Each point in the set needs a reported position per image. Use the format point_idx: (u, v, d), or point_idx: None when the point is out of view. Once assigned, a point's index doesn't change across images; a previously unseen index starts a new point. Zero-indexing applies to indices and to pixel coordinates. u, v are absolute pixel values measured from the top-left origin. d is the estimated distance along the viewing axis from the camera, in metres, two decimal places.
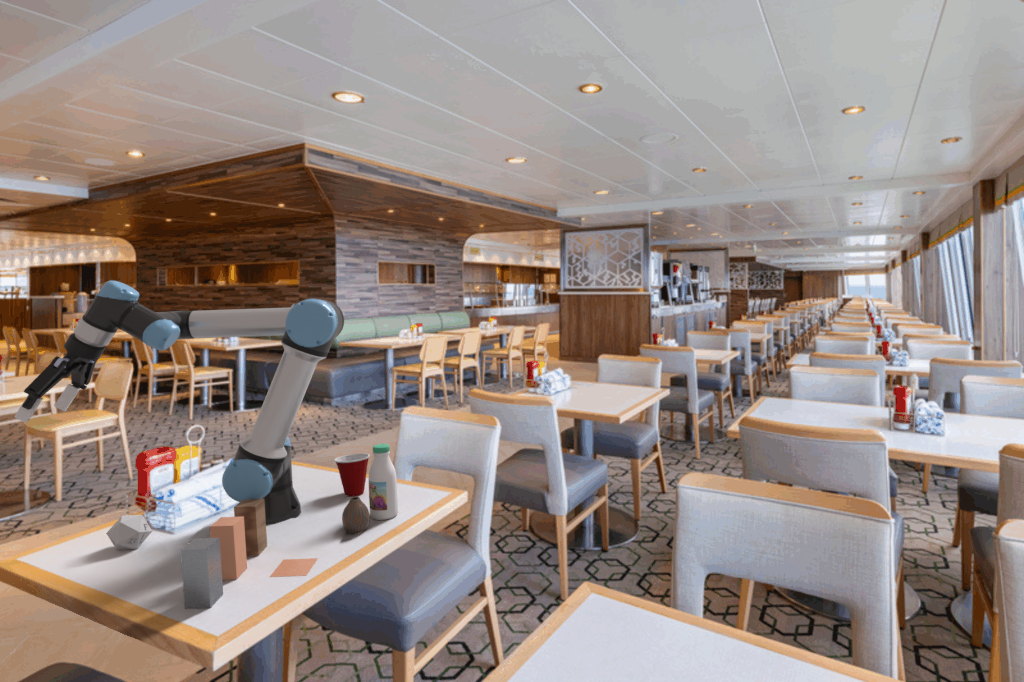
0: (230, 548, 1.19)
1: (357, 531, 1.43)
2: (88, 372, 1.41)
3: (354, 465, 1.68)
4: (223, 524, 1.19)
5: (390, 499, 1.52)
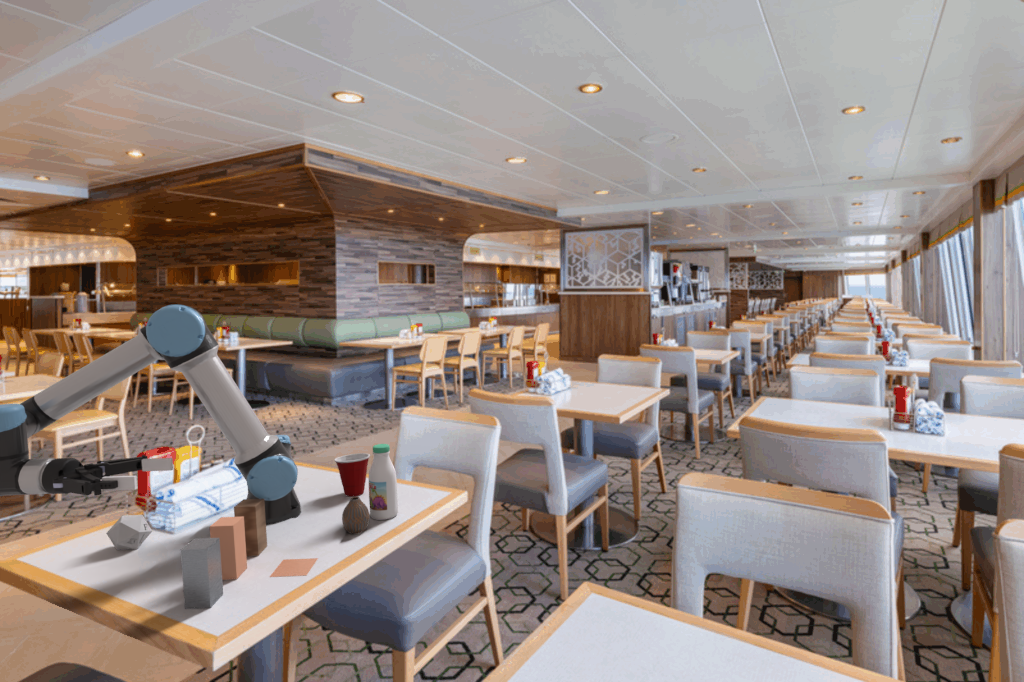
0: (230, 548, 1.19)
1: (357, 531, 1.43)
2: (122, 461, 1.27)
3: (354, 465, 1.68)
4: (223, 524, 1.19)
5: (390, 499, 1.52)
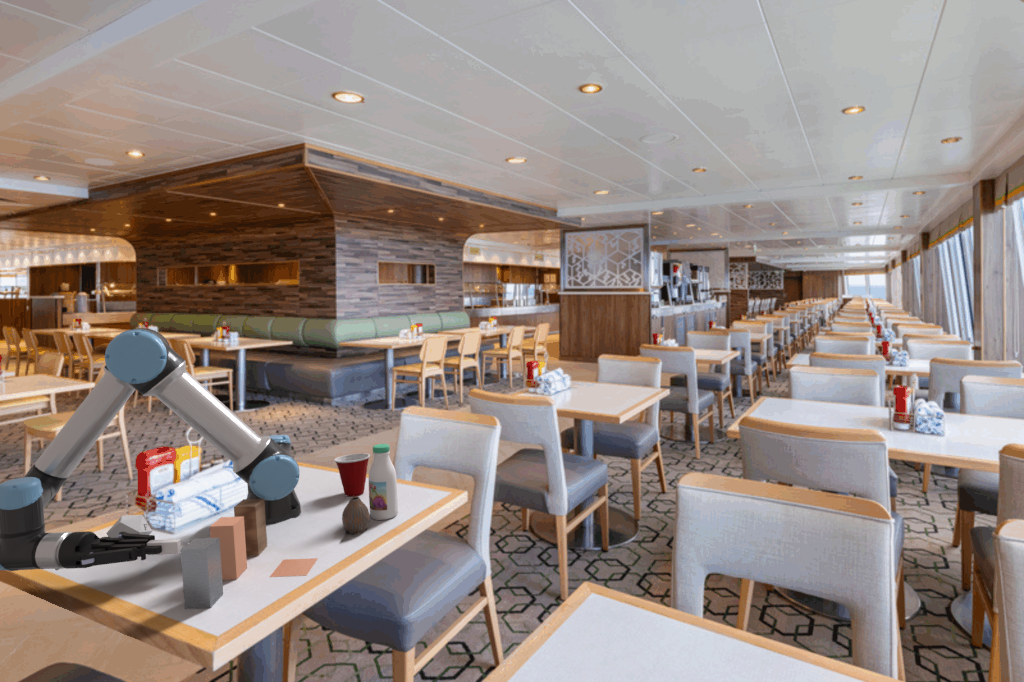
0: (230, 548, 1.19)
1: (357, 531, 1.43)
2: (133, 537, 1.24)
3: (354, 465, 1.68)
4: (223, 524, 1.19)
5: (390, 499, 1.52)
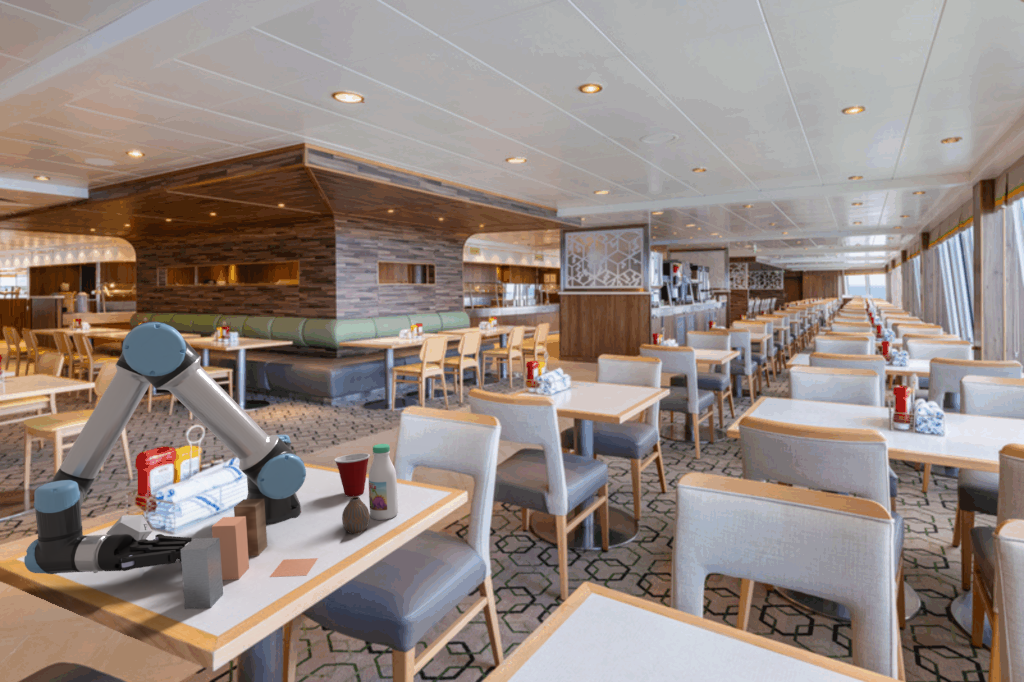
0: (233, 548, 1.19)
1: (357, 531, 1.43)
2: (170, 540, 1.24)
3: (354, 465, 1.68)
4: (225, 524, 1.19)
5: (390, 499, 1.52)
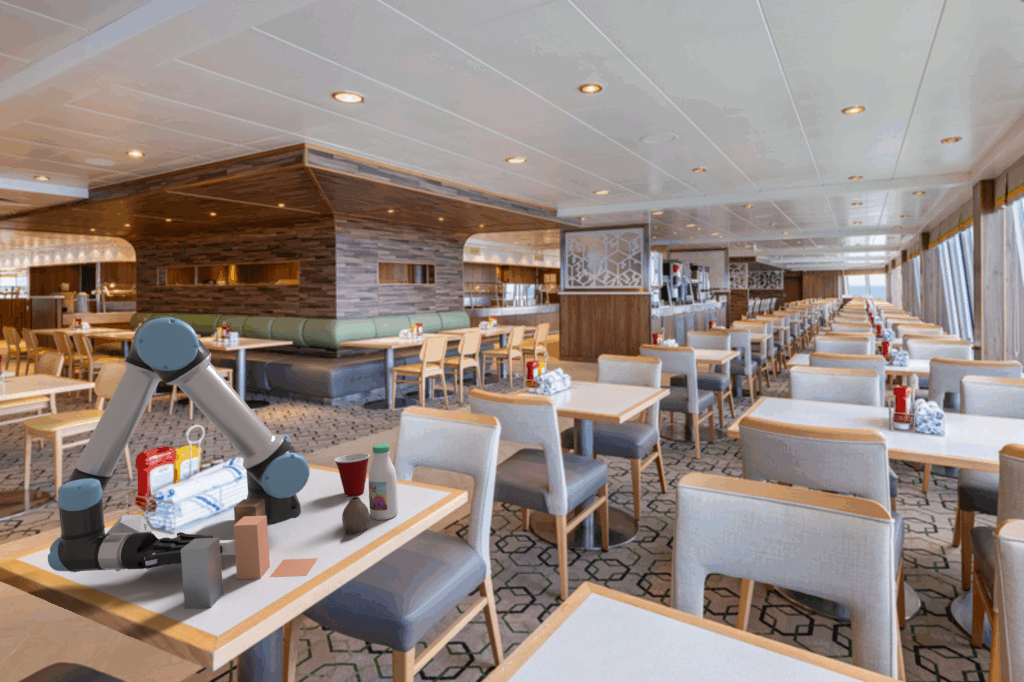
0: (254, 547, 1.19)
1: (357, 531, 1.43)
2: (192, 538, 1.24)
3: (354, 465, 1.68)
4: (246, 523, 1.19)
5: (390, 499, 1.52)
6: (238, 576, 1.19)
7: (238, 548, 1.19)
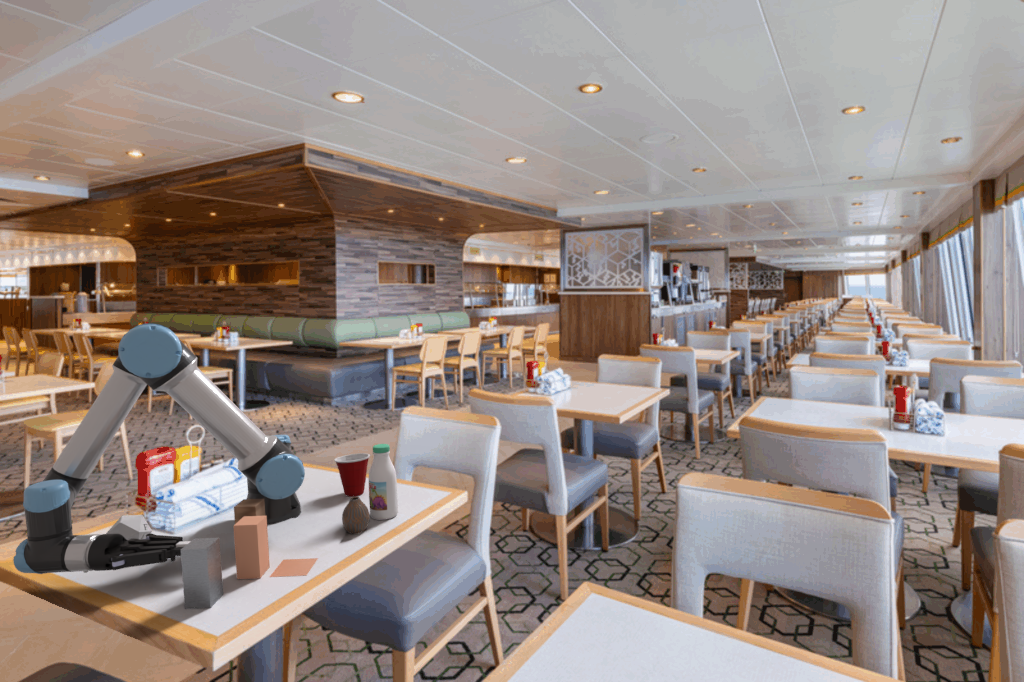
0: (254, 547, 1.19)
1: (357, 531, 1.43)
2: (161, 539, 1.24)
3: (354, 465, 1.68)
4: (246, 523, 1.19)
5: (390, 499, 1.52)
6: (238, 576, 1.19)
7: (238, 548, 1.19)
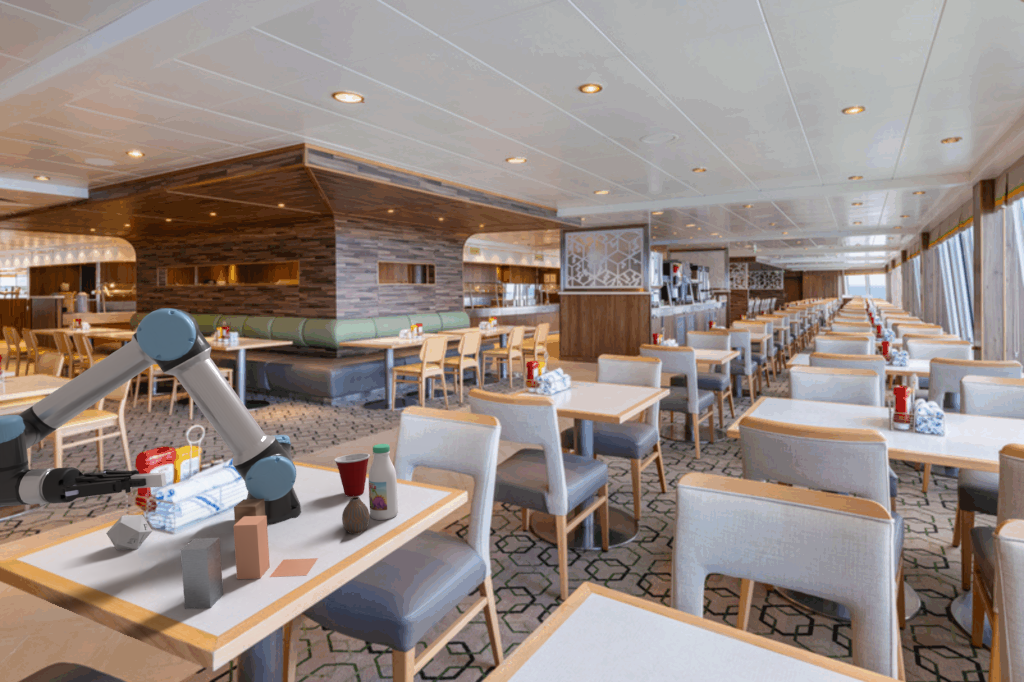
0: (254, 547, 1.19)
1: (357, 531, 1.43)
2: (118, 473, 1.24)
3: (354, 465, 1.68)
4: (246, 523, 1.19)
5: (390, 499, 1.52)
6: (238, 576, 1.19)
7: (238, 548, 1.19)
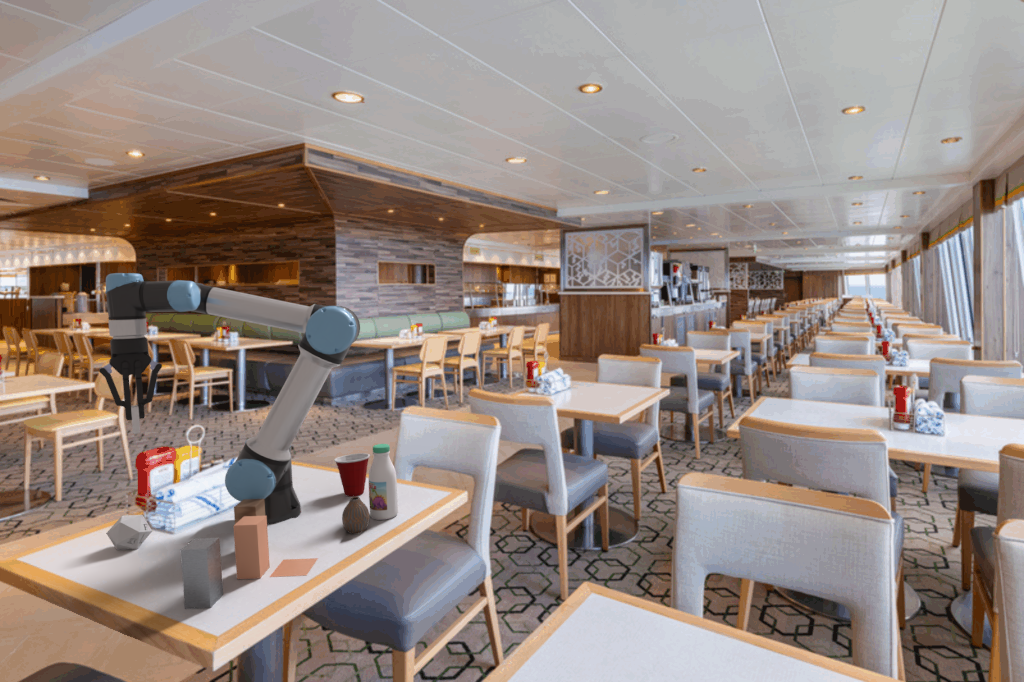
0: (254, 547, 1.19)
1: (357, 531, 1.43)
2: (149, 382, 1.37)
3: (354, 465, 1.68)
4: (246, 523, 1.19)
5: (390, 499, 1.52)
6: (238, 576, 1.19)
7: (238, 548, 1.19)
